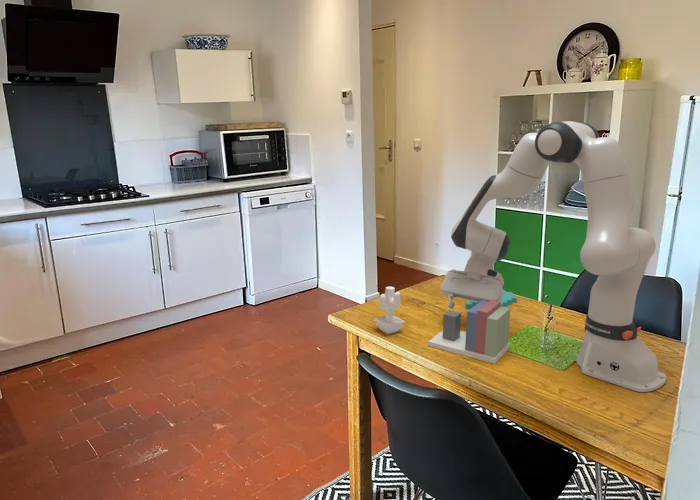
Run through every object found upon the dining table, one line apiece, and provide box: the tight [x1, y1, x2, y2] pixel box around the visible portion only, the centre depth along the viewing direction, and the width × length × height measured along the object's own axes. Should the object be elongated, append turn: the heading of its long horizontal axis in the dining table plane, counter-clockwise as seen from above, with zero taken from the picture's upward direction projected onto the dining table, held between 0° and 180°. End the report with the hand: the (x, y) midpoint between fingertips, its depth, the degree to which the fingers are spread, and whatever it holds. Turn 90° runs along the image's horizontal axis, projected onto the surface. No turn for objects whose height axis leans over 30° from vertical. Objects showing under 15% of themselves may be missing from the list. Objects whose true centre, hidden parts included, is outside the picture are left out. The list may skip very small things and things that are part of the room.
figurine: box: [373, 286, 406, 335], centre depth 172 cm, size 7×9×15 cm
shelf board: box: [427, 300, 511, 365], centre depth 160 cm, size 21×13×14 cm, turn 55°
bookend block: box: [442, 309, 462, 341], centre depth 164 cm, size 4×4×8 cm
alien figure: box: [464, 289, 518, 310], centre depth 202 cm, size 20×2×20 cm
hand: (463, 310), depth 171 cm, fingers open, 8 cm apart
